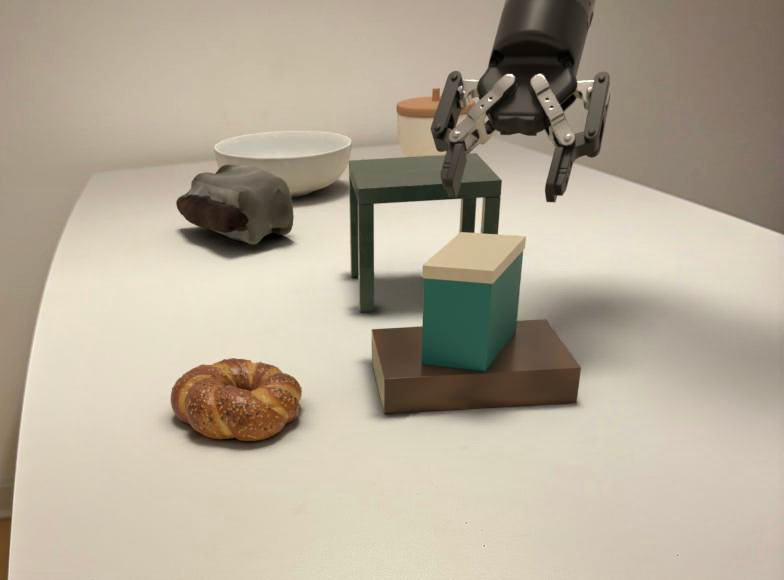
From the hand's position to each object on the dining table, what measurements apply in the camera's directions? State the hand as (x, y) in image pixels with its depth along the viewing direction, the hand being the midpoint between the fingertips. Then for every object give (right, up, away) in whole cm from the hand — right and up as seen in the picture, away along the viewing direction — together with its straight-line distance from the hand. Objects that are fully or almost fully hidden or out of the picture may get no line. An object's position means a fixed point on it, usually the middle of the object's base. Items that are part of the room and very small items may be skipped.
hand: (499, 194), depth 79 cm
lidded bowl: (+5, +42, +78) cm, 88 cm away
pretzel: (-22, -19, 0) cm, 29 cm away
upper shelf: (-4, +1, +25) cm, 25 cm away
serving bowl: (-19, +32, +67) cm, 76 cm away
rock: (-26, +16, +46) cm, 55 cm away
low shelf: (-2, -15, +4) cm, 15 cm away
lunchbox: (-2, -12, +2) cm, 13 cm away
